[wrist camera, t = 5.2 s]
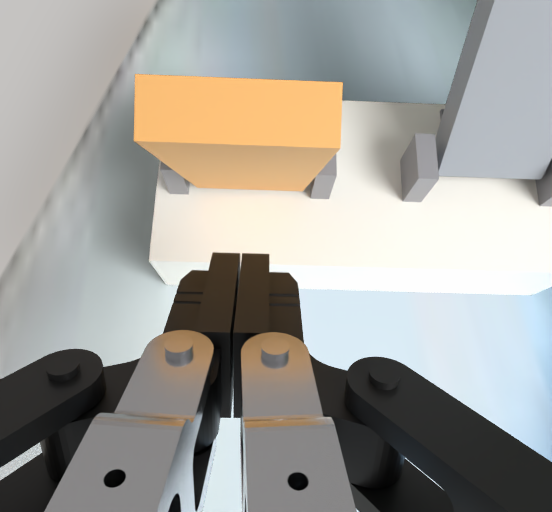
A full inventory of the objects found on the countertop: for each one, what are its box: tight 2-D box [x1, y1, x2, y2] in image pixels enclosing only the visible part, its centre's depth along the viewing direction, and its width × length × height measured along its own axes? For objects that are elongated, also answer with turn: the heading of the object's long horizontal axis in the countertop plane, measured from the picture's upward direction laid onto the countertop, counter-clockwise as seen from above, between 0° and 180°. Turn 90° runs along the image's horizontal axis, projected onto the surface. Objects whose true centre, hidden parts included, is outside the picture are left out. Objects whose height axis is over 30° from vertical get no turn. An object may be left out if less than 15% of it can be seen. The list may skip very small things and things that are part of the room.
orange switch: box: [134, 74, 343, 191], centre depth 16 cm, size 5×1×10 cm, turn 89°
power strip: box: [149, 100, 552, 295], centre depth 22 cm, size 21×8×6 cm, turn 89°
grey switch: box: [435, 0, 552, 180], centre depth 17 cm, size 5×1×10 cm, turn 89°
